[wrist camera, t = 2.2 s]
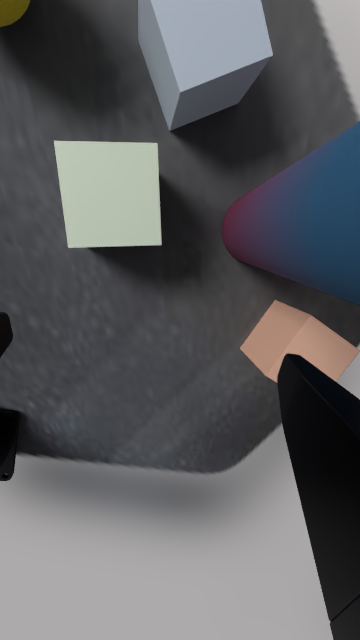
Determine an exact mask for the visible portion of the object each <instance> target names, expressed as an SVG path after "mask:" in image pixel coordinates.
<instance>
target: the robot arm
mask: <svg viewBox="0 0 360 640" xmlns="http://www.w3.org/2000/svg"><path fill="white" fill-rule="evenodd" d="M12 339H13V332H12V328H11V323H10V319H9V316H8V314H6V313H5V312H0V358H1V356H2V355H3V353H4V352H5V350H6V349H7V347H8V346H9V344H10V343H11V341H12ZM277 383H278V392H279V401H280V409H281V418H282V425H283V429H284V434H285V438H286V442H287V446H288V450H289V455H290V459H291V463H292V467H293V471H294V476H295V480H296V484H297V488H298V492H299V496H300V500H301V505H302V509H303V513H304V517H305V521H306V526H307V530H308V534H309V538H310V542H311V547H312V550H313V555H314V559H315V563H316V567H317V572H318V576H319V579H320V584H321V588H322V592H323V597H324V601H325V605H326V609H327V613H328V617H329V620H330V621H331V622H330V626H331V631H332V635H333V639H334V640H360V400H359V399H358V398H357V397H355V396H354V395H353V394H351V393H350V392H349V391H347V390H346V389H345V388H343V387H342V386H341V385H339V384H338V383H337V382H335V381H334V380H333V379H331V378H330V377H329V376H327V375H326V374H325V373H323V372H322V371H321V370H319V369H318V368H317V367H315V366H314V365H313V364H311V363H310V362H309V361H307V360H306V359H305V358H303V357H302V356H301V355H297V354H290V353H287V354H286V355H285V356H284V358H283V361H282V364H281V367H280V369H279V372H278V376H277ZM10 416H12V417H14V419H12V418H10ZM19 419H20V415H19V413H18V412H17V411H13V410H4V409H0V481H7V480H10V479H11V477H12V476H13V473H14V466H15V457H16V447H17V438H18V429H19ZM6 474H8V475H6Z"/></svg>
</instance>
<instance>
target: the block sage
mask: <svg viewBox="0 0 360 640" xmlns="http://www.w3.org/2000/svg"><path fill="white" fill-rule="evenodd" d="M54 145H55V152H56V160H57V167H58V175H59V182H60V190H61V197H62V205H63V212H64V219H65V227H66V234H67V242H68V248H76V247H112V246H148V245H162V242H161V218H160V194H159V170H158V147H157V143H130V142H85V141H54Z"/></svg>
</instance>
